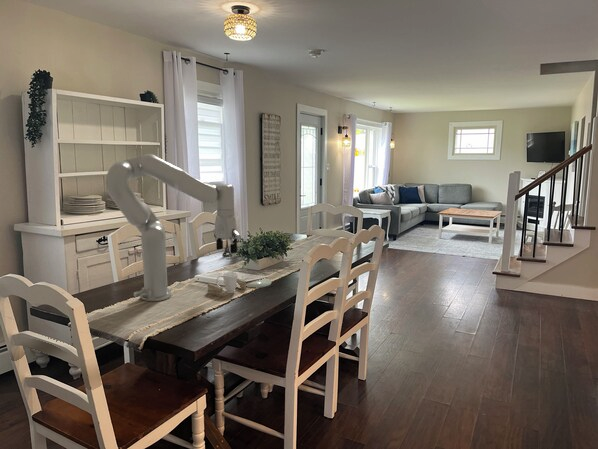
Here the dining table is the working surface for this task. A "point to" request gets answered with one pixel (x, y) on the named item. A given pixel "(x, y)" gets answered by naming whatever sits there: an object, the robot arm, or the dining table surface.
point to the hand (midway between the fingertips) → (226, 250)
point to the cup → (229, 281)
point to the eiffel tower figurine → (228, 252)
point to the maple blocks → (219, 290)
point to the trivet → (260, 283)
